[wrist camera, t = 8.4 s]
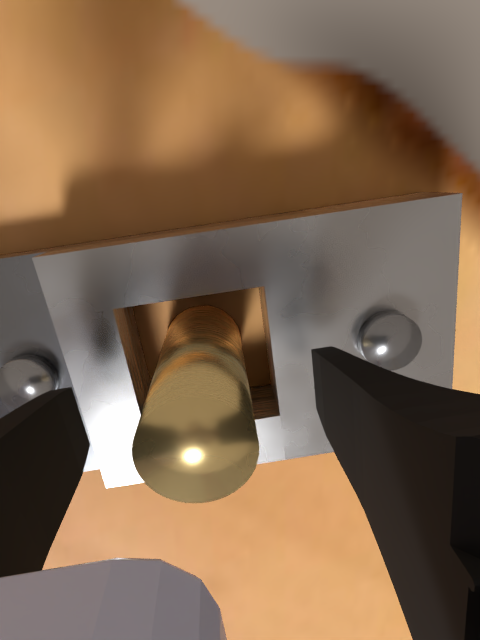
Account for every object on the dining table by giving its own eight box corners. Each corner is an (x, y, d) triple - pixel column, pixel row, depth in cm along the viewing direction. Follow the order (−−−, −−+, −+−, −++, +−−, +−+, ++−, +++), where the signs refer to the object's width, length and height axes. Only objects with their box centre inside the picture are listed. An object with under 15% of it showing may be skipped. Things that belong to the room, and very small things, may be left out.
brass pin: (175, 379, 16) (149, 512, 10) (158, 312, 15) (115, 411, 9) (245, 366, 16) (267, 490, 10) (233, 299, 15) (248, 386, 9)
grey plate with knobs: (19, 464, 17) (-20, 519, 14) (-62, 264, 14) (-132, 284, 11) (418, 401, 17) (459, 443, 14) (422, 192, 14) (474, 193, 11)
